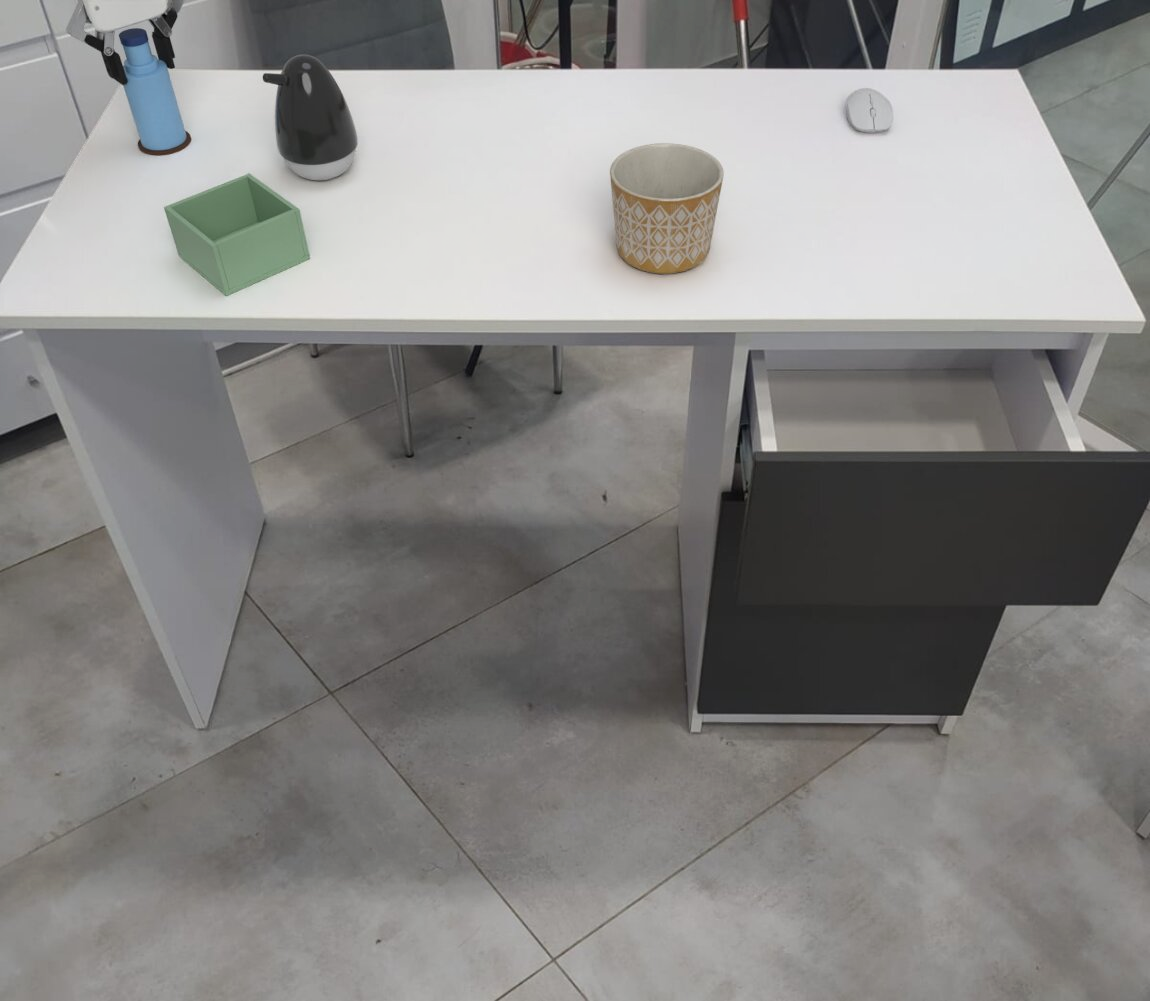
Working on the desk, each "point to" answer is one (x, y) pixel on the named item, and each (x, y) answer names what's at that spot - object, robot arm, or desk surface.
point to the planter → (665, 206)
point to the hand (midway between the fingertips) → (143, 72)
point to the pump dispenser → (312, 120)
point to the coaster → (168, 151)
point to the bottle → (150, 94)
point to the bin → (238, 233)
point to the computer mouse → (869, 111)
